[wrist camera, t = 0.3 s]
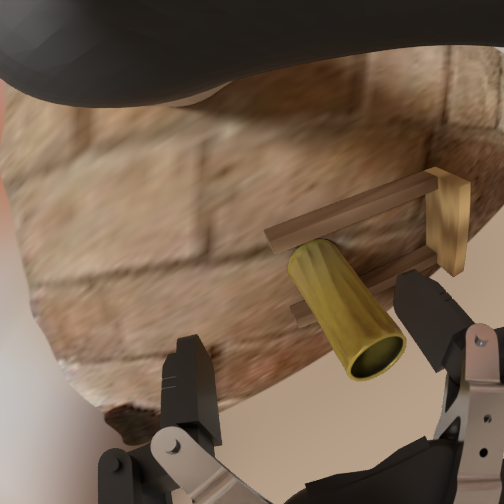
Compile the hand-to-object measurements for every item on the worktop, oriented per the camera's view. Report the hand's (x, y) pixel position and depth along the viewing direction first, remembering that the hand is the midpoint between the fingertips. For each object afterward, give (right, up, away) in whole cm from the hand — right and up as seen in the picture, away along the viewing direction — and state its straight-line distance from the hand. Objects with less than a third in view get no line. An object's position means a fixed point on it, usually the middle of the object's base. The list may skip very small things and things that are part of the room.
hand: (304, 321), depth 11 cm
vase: (+5, +1, +21) cm, 22 cm away
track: (+11, +4, +21) cm, 24 cm away
